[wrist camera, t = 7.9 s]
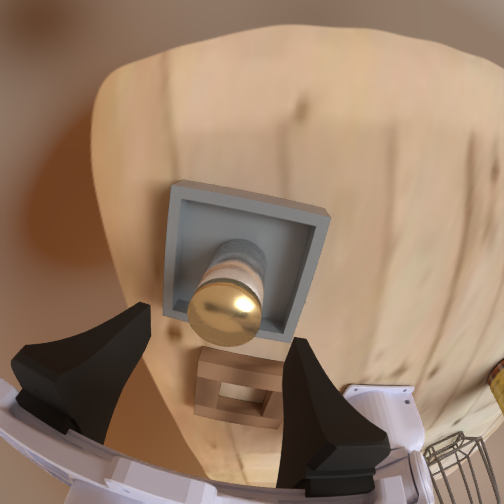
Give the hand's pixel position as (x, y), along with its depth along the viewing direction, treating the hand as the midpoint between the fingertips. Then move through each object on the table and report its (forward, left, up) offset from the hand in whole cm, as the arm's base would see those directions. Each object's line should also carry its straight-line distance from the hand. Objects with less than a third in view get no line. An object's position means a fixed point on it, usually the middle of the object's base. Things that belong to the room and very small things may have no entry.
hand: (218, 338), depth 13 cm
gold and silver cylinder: (0, 0, -9) cm, 9 cm away
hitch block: (-3, +15, -10) cm, 18 cm away
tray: (0, 0, -10) cm, 10 cm away
